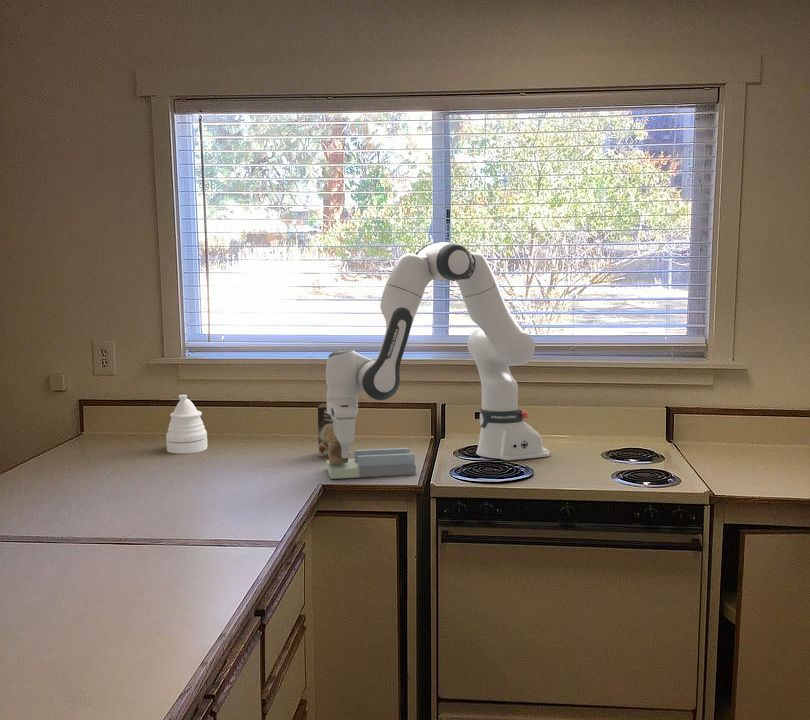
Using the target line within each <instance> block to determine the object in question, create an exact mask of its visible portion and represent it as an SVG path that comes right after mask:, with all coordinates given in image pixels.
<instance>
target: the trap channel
mask: <svg viewBox="0 0 810 720" xmlns="http://www.w3.org/2000/svg"><path fill="white" fill-rule="evenodd" d="M353 452H354V458H350V459H349V458H348V463H330V462H329V459H328V460H326V463H325V464H326V471H327V474H328V476H329V478H330V480H331V479H353V478H354V479H355V478H371V477H372V478H373V477H392V476H396V477H397V476H410V475H411V476H412V475H413V476H415V475H417V470H416V468H417V467H416V464H415V463H416V462H415V459H416V458H415V457H416V456H415V453H413V452H412V453H411V452H410V448H409V447H397V448H396V447H395V448H392V447H391V448H374V449H373V448H372V449H369V448H368V449H354V451H353Z"/></svg>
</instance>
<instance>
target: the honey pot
mask: <svg viewBox="0 0 810 720" xmlns="http://www.w3.org/2000/svg"><path fill="white" fill-rule="evenodd" d="M187 397H188V395H187V394H179V395H178V399H179V401H178V402H177V405H176V406H175V408H174V410H173V411H172V412H171V413H170V414H169V417H171V418H170V422H169V423H168V427H167V432H166V434H165V435H166V436H165V437H166V438H165V439H166V451H167V453H170V454H184V455H185V454H193V453H200V452H202V451H206V449H208V448H209V447H208V431H207V430H206V428H205V427H206V426H205V425H204V422H203V420H202V418H201V416H202V415H203V412H202V411H200V410H198V409H197V408H196V406H195V405H194V403H193V402H192V401H191V400H190V399H188V398H187ZM207 447H208V448H207Z"/></svg>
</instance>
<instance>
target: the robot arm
mask: <svg viewBox="0 0 810 720" xmlns="http://www.w3.org/2000/svg"><path fill="white" fill-rule="evenodd" d="M433 280H434V281H437V282H446V281H451V282H456V284H457V286H458V287H459V291H460V293H461V297H462V298H463V301H464V304H465V305H464V306H465V307H466V309H467V312H468V316H469V318H470V319H471V321H472V322H474V323H475V324H476V325H477V326H478V327H479V328H480V329H476V330H474V331H473V332H472V333H471V334H470V335H469V337H468V340H467V346H466V347H467V350H468V353H469V354H470V356H471V357H472V358H473V360H474V362H475V364H476V368H477V371H478V374H479V378H480V384H481V385H480V386H481V408H480V412H479V426H480V433H479V439H478V440H479V441H478V445H477V449H476V453H475V454H476V455H477V456H479V457H484V458H489V459H500V460H504V461H514V460H515V461H516V460H525V459H536V458H547V457H550V455H551V453H550V450H548V449H547V448H545V447H544V446H543V439H542V436H541V434H540V433H539V432H538V431H537V430H535V428H533V427H532V426H531V425H530V424H528V423H527V422H526V421H524V419H527V418H529V417H530V413H529V412H528V411H526V410H521V409H519V407H518V406H519V402H518V401H519V385H518V382H517V380H516V379H515V378H514V377H513V375H512V373H511V370H510V367H514V366H515V367H516V366H521V365H525V364H527V363H529V362H530V361H531V360H532V358H533V357H534V353H535V349H536V347H535V346H536V345H535V341H534V339H533V337H532V336H531V335H530V334H529V333H527V332H526V331H525V330H524V329H523V328H522V327H521V326H520V325H519V324H518V322H517V321H516V320H515V318H514V317H513V315H512V314H511V312H510V311H509V309H508V306H507V305H506V303H505V301H504V298H503V296H502V293H501V290H500V287H499V285H498V282H497V279H496V277H495V275H494V272H493V270H492V268H491V266H490V264H489V263H488V260H487V259H486V258H485V256H484V255H483V254H482V253H480V252H475V251H474V252H470V251H469V250H468V249H467V247H465V246H464V245H462V244H460V243H456V242H446V241H445V242H444V241H443V242H437V243H429V244H425V245H423V246H421V248H420V249H418V250H417V252H416V253H406V254H403V255H401V256H400V257H399V258H398V260H397V261H396V263H395V265H394V266H393V268H392V270H391V272H390V274H389V277H388V279H387V281H386V283H385V286H384V288H383V292H382V295H381V300H380V305H379V306H380V307H379V308H380V311H381V314H382V315H383V317H384V321H385V325H386V327H385V328H386V329H385V334H384V337H383V340H382V342H381V343H382V344H381V347H380V349H379V353H378V355H377V358H376V359H373V358H369V357H366V356H364V355H362V354H360V353H358V352H356V351H355V350H354V349H351V348H345V349H338V350H335V351H332V352H331V353H330V354H329V355H328V356H327V359H326V366H325V368H326V369H325V383H326V386H327V391H326V392H327V393H326V397H325V398H326V399H325V400H326V404H327V414H329V415H331V419H332V420H333V432H334V434H335V436H336V438H337V440H338V442H339V443H340V445H341V457H342V458H348V459H349V454H348V449H349V450H350V446H353V445H354V441H355V428H356V418H357V417H358V413H359V400H358V399H359V397H358V396H359V393H364V394H366V395H368V396H369V397H370V398H372V399H374V400H377V401H385V400H388V399H390V398H392V397H393V396H394V395H395V394H396V393H397V392H398V389H399V387H400V383H401V376H400V374H401V373H400V371H401V370H400V369H401V368H400V367H401V362H402V360H403V359H402V358H403V355H404V352H405V349H406V347H407V343H408V339H409V336H410V333H411V328H412V326H413V323H414V320H415V317H416V315H417V313H418V310H419V307H420V304H421V302H422V300H423V297H424V293H425V290H426V288H427V286H428V285H429V283H430V282H431V281H433Z"/></svg>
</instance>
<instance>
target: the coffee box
mask: <svg viewBox="0 0 810 720" xmlns="http://www.w3.org/2000/svg"><path fill="white" fill-rule="evenodd" d="M317 432H318V434H317V435H318V437H317V440H318V441H317V443H318V444H317V445H318V456H322V457H327V456H329V454H328V442H338V440H337V438H336V436H335V434H334V432H333V420H332V419H331V415H329V414H327V403H320V405H318V407H317ZM348 453H349V454H350V448H349V449H348Z"/></svg>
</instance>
